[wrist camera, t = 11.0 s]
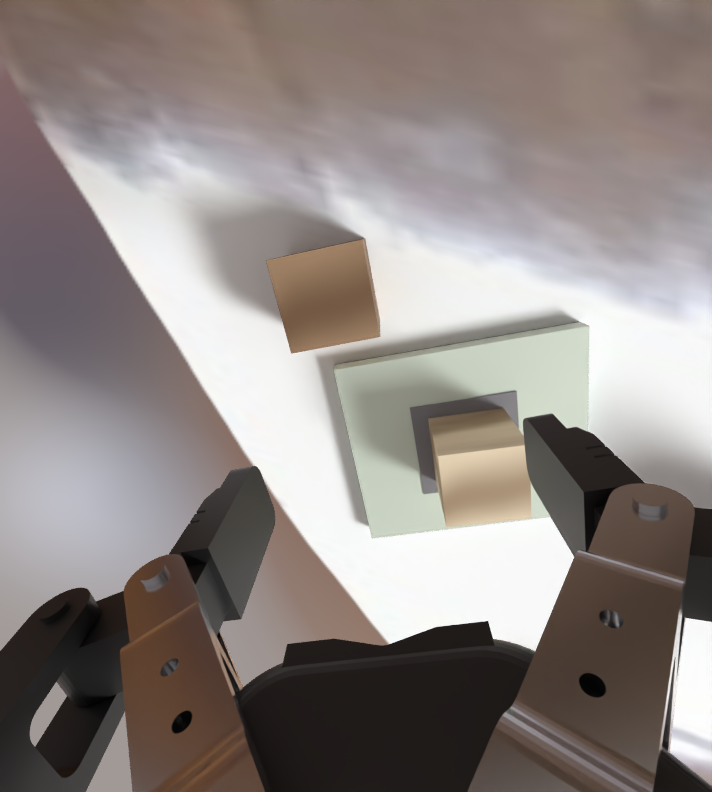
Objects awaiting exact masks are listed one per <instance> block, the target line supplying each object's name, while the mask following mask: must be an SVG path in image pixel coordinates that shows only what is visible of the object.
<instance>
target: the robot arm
mask: <svg viewBox="0 0 712 792" xmlns="http://www.w3.org/2000/svg"><path fill="white" fill-rule="evenodd" d="M523 433H524V444H525V454H526V465H527V471H528V475H529V478H530V481H531V484H532V486H533V488H534V490H535V491H536V493H537V495H538V496H539V498H540V500H541V501H542V503H543V505H544V506H545V508H546V510H547V512H548V513H549V515H550V517H551V518H552V520H553V522H554V523H555V525H556V527H557V528H558V530H559V532H560V533H561V535H562V537H563V538H564V540H565V542H566V543H567V545H568V547H569V549H570V550H571V552H572V554H573V555H574V559H573V562H572V564H571V567H570V569H569V571H568V574H567V576H566V579H565V581H564V584H563V586H562V588H561V591H560V593H559V596H558V598H557V600H556V603H555V605H554V608H553V610H552V613H551V615H550V617H549V620H548V622H547V625H546V627H545V630H544V632H543V634H542V637H541V639H540V642H539V644H538V646H537V649H536V651H533V650H531V649H528V648H526V647H523V646H520V645H518V644H514V643H510V642H507V641H502V640H496V639H493V638H492V634H491V631H490V627H489V623H488V621H486V622H477V623H468V624H459V625H450V626H442V627H435V628H432V629H430V630H427V631H424V632H422V633H419V634H416V635H413V636H411V637H408V638H405V639H403V640H400V641H397V642H395V643H392V644H389V645H384V646H379V645H371V644H366V643H359V642H352V641H345V640H339V639H329V640H319V641H310V642H302V643H293V644H287V648H286V652H285V657H284V661H283V663H282V664H279V665H277V666H275V667H273V668H271V669H269V670H267V671H265V672H264V673H262V674H261V675H259V676H257V677H256V678H255V679H253V680H252V681H251V682H249V684H247V685H246V686H244V687H243V685H242V682H241V680H240V677H239V675H238V673H237V670H236V668H235V665H234V663H233V661H232V658H231V655H230V653H229V651H228V648H227V646H226V643H225V641H224V638H223V636H222V634H221V633H220V627H221V625H222V623H223V621H230V620H238V619H241V618H242V615H243V613H244V610H245V607H246V604H247V601H248V599H249V596H250V593H251V590H252V587H253V585H254V582H255V579H256V576H257V573H258V571H259V568H260V565H261V562H262V560H263V556H264V554H265V551H266V548H267V546H268V543H269V540H270V537H271V534H272V532H273V529H274V525H275V511H274V507H273V504H272V502H271V499H270V496H269V493H268V491H267V488H266V485H265V483H264V480H263V477H262V475H261V472H260V470H259V469H258V468H257V467H256V466H252V467H247V468H241V469H235V470H232V471H230V473H229V474H228V476H227V478H226V479H225V481H224V482H223V484H222V485H221V487H220V488H218V489H216V490H215V491H214V492H213V493H212V494H211V495H210V496H208V497H207V498H206V499H205V500H204V501H203V503H202V504H201V506H200V507H199V509H198V510H197V514H195V515H194V517H193V518H192V520H191V521H190V524H188V526H187V527H186V529H185V530H184V532H183V534H182V535H181V537H180V538H179V540H178V541H177V543H176V544H175V546H174V547H173V549H172V550H171V552H170V553H169V555H165V556H161V557H158V558H156V559H154V560H152V561H150V562H148V563H147V564H145V565H144V566H142V567H141V568H140V569H139V570H137V571H136V572H135V573H134V574H133V575H132V576H131V578H130V579H129V580H128V582H127V583H126V585H125V588H124V591H122V592H120V593H117V594H114V595H112V596H109V597H107V598H104V599H102V600H99V601H95V600H94V598H93V597H92V595H91V593H90V592H89V590H88V589H85V588H75V589H71V590H68V591H66V592H63V593H61V594H59V595H57V596H55V597H54V598H52V599H51V600H49V601H48V602H46V603H45V604H43V605H42V606H41V607H40V608H38V609H37V610H36V611H35V612H34V613H33V614H32V615H31V616H30V617H29V618H28V619H27V621H26V622H25V623H24V624H23V625H22V627H21V628H20V629H19V630H18V631H17V632H16V634H15V635H14V636H13V637H12V638H11V639H10V641H9V642H8V643H7V644H6V645H5V646H4V648H3V649H2V650H1V651H0V792H86V790H87V788H88V786H89V784H90V782H91V780H92V778H93V776H94V774H95V772H96V769H97V767H98V765H99V763H100V761H101V759H102V757H103V755H104V753H105V751H106V749H107V747H108V745H109V743H110V741H111V739H112V736H113V734H114V732H115V730H116V728H117V726H118V724H119V722H120V720H121V718H122V716H123V714H124V711H125V716H126V726H127V737H128V747H129V758H130V769H131V779H132V791H133V792H712V786H711V785H710V784H709V783H707V782H706V781H705V780H703V779H702V778H701V777H700V776H698V775H697V774H696V773H695V772H693V771H692V770H691V769H690V768H688V767H687V766H686V765H685V764H683V763H682V762H681V761H679V760H678V759H677V758H676V757H674V756H673V755H672V754H671V753H669V752H670V744H671V735H672V726H673V716H674V707H675V698H676V690H677V682H678V675H679V667H680V659H681V651H682V644H683V636H684V628H685V621H686V618H691V619H698V620H704V621H711V622H712V509H702V508H695V507H693V505H692V503H691V502H690V501H689V500H688V499H687V498H686V497H684V496H683V495H681V494H680V493H678V492H676V491H674V490H671V489H669V488H666V487H662V486H658V485H653V484H645V483H644V482H643V481H642V480H641V479H640V478H639V477H638V476H637V475H636V474H635V473H634V472H633V471H632V470H631V469H630V468H628V467H627V466H626V465H625V464H624V463H623V462H622V461H621V460H620V459H619V458H618V457H617V456H614V453H613V452H612V451H611V450H610V449H609V448H608V447H605V445H604V444H603V443H602V442H601V441H600V440H599V439H598V438H597V437H596V436H595V435H594V434H592V433H590V432H587V431H585V430H583V429H580V428H578V427H572V428H566V427H565V426H564V425H563V424H562V423H561V422H560V421H559V420H558V419H557V418H556V416H555V415H554V414H552V413H550V414H545V415H539V416H534V417H528V418H524V420H523ZM56 682H57V683H58V684H59V686H60V687H61V688H62V689H63V691H64V692H65V694H66V695H67V697H66V699H65V700H64V702H63V704H62V705H61V707H60V708H59V710H58V711H57V713H56V715H55V716H54V718H53V720H52V721H51V723H50V724H49V726H48V727H47V729H46V731H45V732H44V734H43V735H42V737H41V739H40V740H39V742H38V743H37V745H36V747H34V745H33V744H32V743H31V740H30V734H29V733H30V725H31V721H32V719H33V717H34V714H35V713H36V711H37V709H38V708H39V706H40V705H41V704H42V702H43V701H44V699H45V698H46V696H47V694H48V693H49V692H50V690H51V689H52V687H53V686H54V684H55V683H56Z"/></svg>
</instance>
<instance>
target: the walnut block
mask: <svg viewBox="0 0 712 792" xmlns="http://www.w3.org/2000/svg"><path fill="white" fill-rule="evenodd" d="M266 262H267V266H268V269H269V273H270V277H271V280H272V284H273V288H274V291H275V295H276V299H277V303H278V306H279V310H280V314H281V317H282V321H283V325H284V328H285V332H286V336H287V339H288V343H289V347H290V351H291V353H297V352H302V351H307V350H313V349H318V348H323V347H329V346H334V345H339V344H345V343H350V342H355V341H360V340H366V339H371V338H376V337H380V317H379V312H378V306H377V301H376V296H375V290H374V285H373V279H372V274H371V268H370V263H369V257H368V252H367V247H366V241H365V239H361V240H356V241H351V242H347V243H342V244H338V245H333V246H329V247H324V248H319V249H315V250H310V251H306V252H301V253H297V254H292V255H288V256H283V257H279V258H275V259H271V260H266Z"/></svg>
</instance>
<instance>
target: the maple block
mask: <svg viewBox="0 0 712 792" xmlns="http://www.w3.org/2000/svg"><path fill="white" fill-rule="evenodd" d="M428 422H429V430H430V438H431V446H432V454H433V462H434V470H435V478H436V484H437V488H438V493H439V497H440V501H441V506H442V510H443V514H444V519H445V523H446V527H454V526H463V525H473V524H482V523H492V522H501V521H511V520H520V519H530V518H532V517H531V481H530V478H529V475H528V471H527V465H526V454H525V444H524V436H523V434H522V433H521V432H520V430H519V429H518V427H517V426H516V425H515V423H514V422H513V420H512V419H511V418H510V416H509V415H508V413H507V412H506V411H505V409H504V408H501V409H494V410H486V411H479V412H472V413H464V414H457V415H450V416H442V417H435V418H428Z"/></svg>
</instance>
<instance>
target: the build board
mask: <svg viewBox="0 0 712 792" xmlns="http://www.w3.org/2000/svg"><path fill="white" fill-rule="evenodd" d="M334 374H335V378H336V383H337V387H338V392H339V396H340V400H341V405H342V409H343V413H344V418H345V422H346V427H347V431H348V435H349V440H350V444H351V448H352V453H353V457H354V462H355V466H356V470H357V475H358V479H359V483H360V488H361V492H362V497H363V501H364V505H365V510H366V514H367V518H368V523H369V527H370V532H371V536H372V538H379V537H387V536H396V535H404V534H412V533H421V532H429V531H437V530H446V529H454V528H462V527H470V526H479V525H487V524H495V523H504V522H512V521H520V520H529V519H520V520H511V521H501V522H492V523H482V524H473V525H463V526H454V527H446V523H445V519H444V514H443V510H442V506H441V501H440V497H439V493H438V488H437V484H436V478H435V470H434V462H433V454H432V446H431V438H430V430H429V422H428V418H435V417H442V416H450V415H457V414H464V413H472V412H479V411H486V410H494V409H501V408H504V409H505V411H506V412H507V413H508V415H509V416H510V418H511V419H512V420H513V422H514V423H515V425H516V426H517V427H518V429H519V430H520V432H521V433H522V434H523V436H524V433H523V420H524V418H528V417H534V416H539V415H545V414H550V413H552V414H554V415H555V416H556V418H557V419H558V420H559V421H560V422H561V423H562V424H563V425H564V426H565V427H566V428H572V427H578V428H580V429H583V430H585V431H587V432H588V390H589V326H588V325H586V324H584V323H581V322H577V323H571V324H565V325H560V326H554V327H548V328H543V329H537V330H531V331H525V332H520V333H514V334H508V335H503V336H497V337H491V338H485V339H480V340H474V341H468V342H463V343H457V344H451V345H445V346H440V347H434V348H428V349H423V350H417V351H411V352H405V353H400V354H394V355H388V356H383V357H377V358H371V359H365V360H360V361H354V362H348V363H343V364H337V365H335V368H334ZM531 517H532V518H530V519H537V518H545V517H550V515H549V513H548V512H547V510H546V508H545V506H544V505H543V503H542V501H541V500H540V498H539V496H538V495H537V493H536V491H535V490H534V488H533V486H532V484H531Z"/></svg>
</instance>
